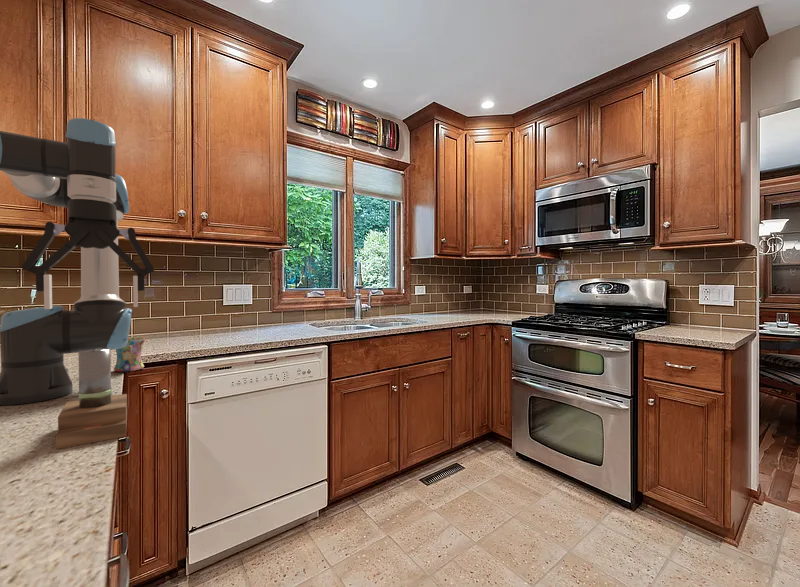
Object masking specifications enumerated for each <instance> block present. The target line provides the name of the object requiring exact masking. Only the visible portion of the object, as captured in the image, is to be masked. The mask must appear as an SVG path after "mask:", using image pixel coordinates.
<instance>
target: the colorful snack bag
mask: <svg viewBox="0 0 800 587" xmlns="http://www.w3.org/2000/svg"><path fill="white" fill-rule="evenodd" d="M145 341H146V338H145V337H128V342H127V345H126V346H125V347H123V348H121V349H115V352H116V353H115V354H116V363H115V365H114V368H113V370H114V372H120V373H127V372H128V373H129V372H135V371H136V372H137V371H139V370H141V369H144V367H145V365H144V363H143V360H142V349H143V345H144V343H145Z"/></svg>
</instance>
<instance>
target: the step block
mask: <svg viewBox="0 0 800 587" xmlns="http://www.w3.org/2000/svg"><path fill="white" fill-rule="evenodd" d="M127 421H128V393H123V394H122V393H121V394H114V395H111V403H110V404H107V405H104V406H100V407H95V408H80V407H79V399H78V400H77V399H76V400H70V401H66V402H65V404H64V406H63V408H62V410H61V412H60V413H59V415H58V416H57V432H56V434H55V449H56V450H59V449H63V448H69V447H74V446H80V445H86V444H90V443H91V442H92V443H97V442H102V441H107V440H113V439H118V438H124V437H127V426H128V422H127ZM92 443H91V444H92Z"/></svg>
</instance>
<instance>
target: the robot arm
mask: <svg viewBox="0 0 800 587" xmlns="http://www.w3.org/2000/svg"><path fill="white" fill-rule="evenodd" d="M115 136H116V134H115V130H114V129H113V128H112V127H111V126H109V125H108V124H106V123H104V122H101V121H98V120H94V119H88V118H84V117H75V118H70V119H69V120H68V121H67V124H66V132H65V138H66V142H64V141H59V140H54V139H48V138H41V137H35V136H31V135H26V134H25V135H24V134H19V133H15V132H8V131H3V130H0V171H2V173H4V174H5V175H6V176H7V177H8V178H9V179H10V183H11V184H12V185H13V187H14V188H15V189H16V190H17V191H18V192H20V193H21V194H23V195H24V196H25V197H28V198H30V199H33V200H35V201H38V202H40V203H43V204H47V205H50V206H54V207H60V208H66V209H67V223H66V224H58V223H54V222H52V221H46V223H45V226H44V233H43V235H42V236H41V237H40V239H39V240H38V241H37V243H36V244H35V246H34V248H32V251H31V252H30V253H29V255H28V256H27V258H26V259H25V260H24V262H23V263H22V265H21V268H22V270H24V271H27V272H31V273H33V274H34V275H35V289H36V291H37V292H43V299H44V300H43V305H44V306H41V307H32V308H31V307H30V308H25V309H19V310H12V311H8V312H4V313H3V314H2V315H1V317H0V406H12V405H14V406H15V405H24V404H31V403H38V402H44V401H48V400H52V399H53V400H54V399H56V398H60V397H64V396H67V395H69V394H71V393H73V391H74V390H73V389H74V386H73V381H72V378H71V377H70V374H69V371H68V372H67V370H66V366H65V362H64V360H65V359H64V354H77V353H78V351H80V350H84V349H92V348H110V349H111V351H113V350H116V349H121V348H123V347H125V346H126V345H127V342H128V338H129V336H130V329H131V322H132V312H133V309H132V308H129V307H127V306H126V304H127V302H125V301H124V300H123V299H122V298H121V297H120V276H119V275H120V274H119V273H120V270H119V269H120V267H119V266H120V265H119V263H120V262H119V261H120V260H119V258H120V259H122V261H123V262H124V263H125V264H126V265H127V266H128V267H130V268H131V270H132V271H134V273H136V275H133V276H132V289H133V294H132V295H133V296H132V298H133V302H132V303H133V308H139V292H141V291H142V292H143V291H144V290H145V276H146V275H149V274H152V273H154V272H155V267H154V266H153V264H152V263H151V261H150V260H149V258H148V255H147V254H146V253H145V251H144V250H143V248H142V246H141V245H140V243H139V241H138V240H137V237H136V230H135V229H134V228H133V227H129V228H121V229H120V228H119V223H120V222H121V221H122V220H124V219H125V218H124V217H125V215H126V214H129V213H130V203H129V193H128V189H127V183H126V181H125V179H124V178H123V177H122V175H120V174H116V172H117V171H116V169H117V168H116V165H117V164H116V162H117V160H116V147H117V143H116V137H115ZM61 232H65V233H66V234H67V235H68V236H69V237H70V239H69V240H67V241H66V242H65V243H64V244H63V245H62V246H61V247H60V248H58V249H57V250H56V251H55V252H54V253H53V254H52V255H51V256H49V257H48V258H47V259H46V260H45V261H43V262H42V263H41V264H40V265H39V266H37V264H38V262H39V261H40V260H41V259H42V257H43V255H44V253H45V252H46V251H47V249H48V248H49V246H50V245H51V244H52V242H53V240H54V238H55V236H59V235H61ZM120 235H121V236H123V238H124V239H125V240H129V243H130V244H131V246H132V248H133V250H134V251H135V253H136V255H137V256H138V258H139V259H140V262H141V263H142V265H143V266H144V268H141V267H140V266H139V265H138V264H137V263H136V262H135V261H134V260H133V259H132V258H131V257H130V256H129V255H128V254H127V253H126V252H125V251H124V250H123V249H121V247H120V246H119V236H120ZM78 246H79V247H80V298H79V299H78V300H76V301H75V302H74V303H73V309H72V310H71V309H69V310H64V307H63V306H62V305H53V277H52V276H53V275H52V274H47V273H48V272H49V271H50V270H51V269H52V268H53V267H54V266H56V265H57V264H58V263H59V262H60V261H62V260H63V259H65V257H66V256H67V255H68V254H70V253H71V252H72V251H74V250H75V249H76V248H77V247H78ZM78 354H79V353H78Z"/></svg>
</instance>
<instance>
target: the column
mask: <svg viewBox="0 0 800 587" xmlns="http://www.w3.org/2000/svg"><path fill="white" fill-rule="evenodd" d="M111 351H112V350H111V349H110V348H92V349H84V350H80V351H78V394H77V396H78V400H79V407H80V408H95V407H100V406H104V405H107V404H110V403H111V396H113V395H112V394H113V393H112V392H113V391H112V373H111V372H112V368H111V367H112V360H111V359H112V358H111V354H112V353H111Z"/></svg>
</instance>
